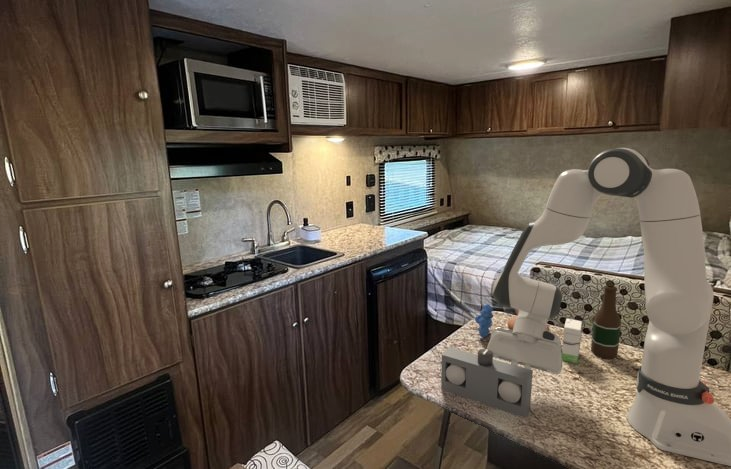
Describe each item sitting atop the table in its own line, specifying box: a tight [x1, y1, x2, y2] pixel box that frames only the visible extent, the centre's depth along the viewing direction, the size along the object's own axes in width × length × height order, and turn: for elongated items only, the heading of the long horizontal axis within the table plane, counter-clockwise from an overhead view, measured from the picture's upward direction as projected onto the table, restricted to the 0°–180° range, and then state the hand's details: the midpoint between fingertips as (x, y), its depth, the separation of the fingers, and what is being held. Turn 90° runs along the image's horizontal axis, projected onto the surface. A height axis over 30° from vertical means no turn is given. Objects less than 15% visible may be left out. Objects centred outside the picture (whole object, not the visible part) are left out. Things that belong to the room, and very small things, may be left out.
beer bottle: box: [590, 284, 622, 360], centre depth 130 cm, size 8×8×24 cm
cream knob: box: [498, 380, 522, 403], centre depth 106 cm, size 7×8×7 cm
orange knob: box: [446, 364, 466, 385], centre depth 114 cm, size 7×8×7 cm
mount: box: [440, 346, 533, 419], centre depth 109 cm, size 24×6×11 cm, turn 55°
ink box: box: [561, 318, 583, 364], centre depth 130 cm, size 9×5×12 cm, turn 149°
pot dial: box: [477, 348, 494, 366], centre depth 107 cm, size 4×4×3 cm
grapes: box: [474, 303, 494, 339], centre depth 147 cm, size 12×7×12 cm, turn 147°
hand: (517, 379), depth 109 cm, fingers closed, pressing on cream knob
